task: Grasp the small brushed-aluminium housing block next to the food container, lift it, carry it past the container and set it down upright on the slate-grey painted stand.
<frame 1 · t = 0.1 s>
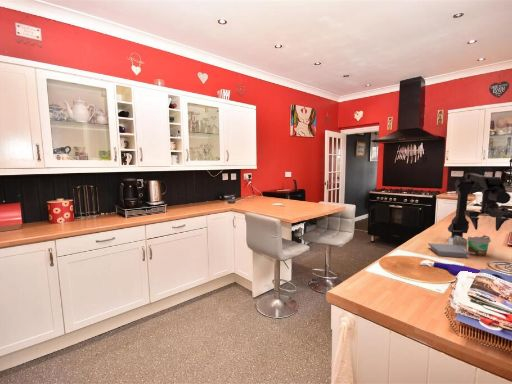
hand: (486, 230, 134), 15 cm above the countertop, fingers open, 9 cm apart
food container: (480, 255, 138), on the countertop
housing: (457, 247, 150), on the countertop
stand: (447, 253, 141), on the countertop
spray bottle: (452, 272, 117), on the countertop
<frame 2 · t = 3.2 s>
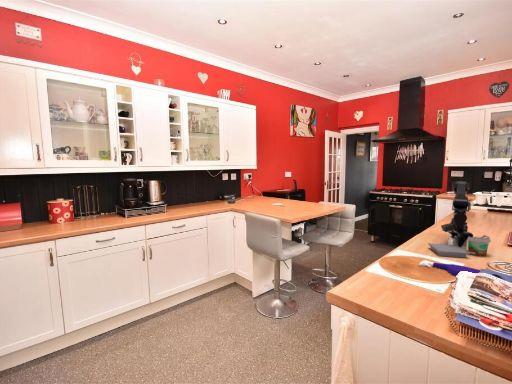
hand: (457, 245, 150), 1 cm above the countertop, fingers closed on housing, 5 cm apart
housing: (457, 247, 150), on the countertop, touching gripper
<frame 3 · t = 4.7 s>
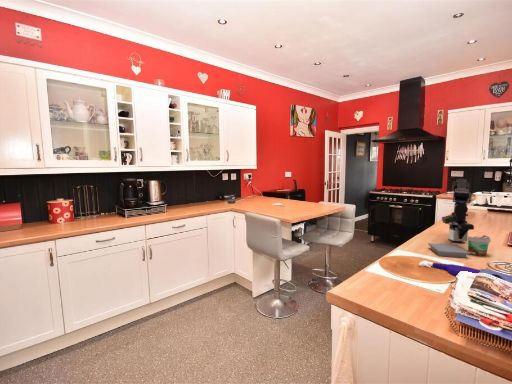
hand: (457, 237, 150), 6 cm above the countertop, fingers closed on housing, 5 cm apart
housing: (457, 239, 150), point 5 cm above the countertop, touching gripper
everything else where it was.
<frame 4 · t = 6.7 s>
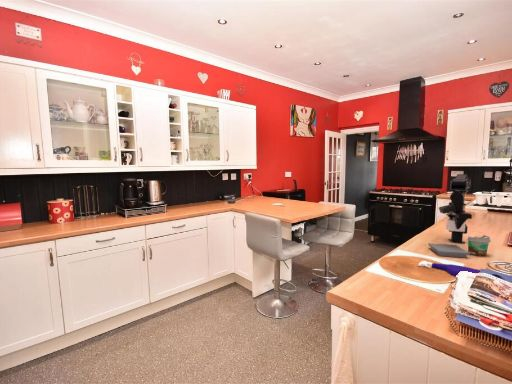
hand: (455, 228, 145), 13 cm above the countertop, fingers closed on housing, 5 cm apart
housing: (455, 230, 145), point 12 cm above the countertop, touching gripper
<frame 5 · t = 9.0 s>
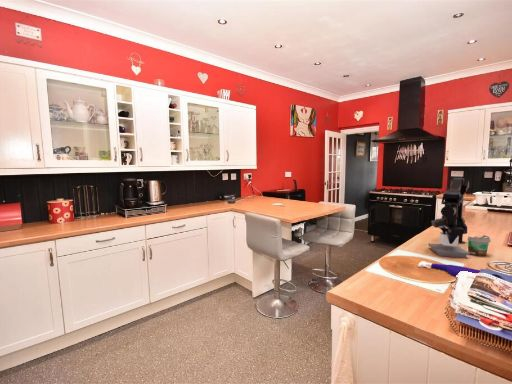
hand: (448, 242, 141), 6 cm above the countertop, fingers closed on housing, 5 cm apart
housing: (448, 244, 141), point 5 cm above the countertop, touching gripper
when the fingers open (6 cm above the countertop, at t = 10.3 s): housing drops 1 cm, resting on stand.
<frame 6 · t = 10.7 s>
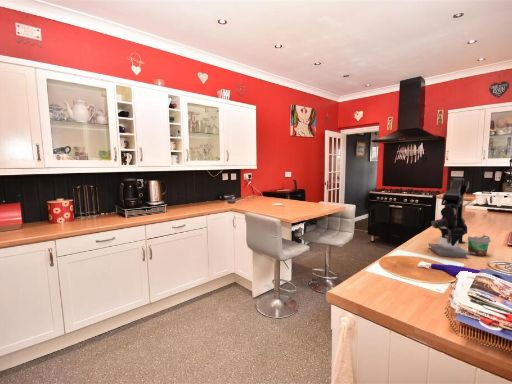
hand: (448, 243, 141), 6 cm above the countertop, fingers open, 9 cm apart
housing: (447, 247, 141), point 3 cm above the countertop, touching stand
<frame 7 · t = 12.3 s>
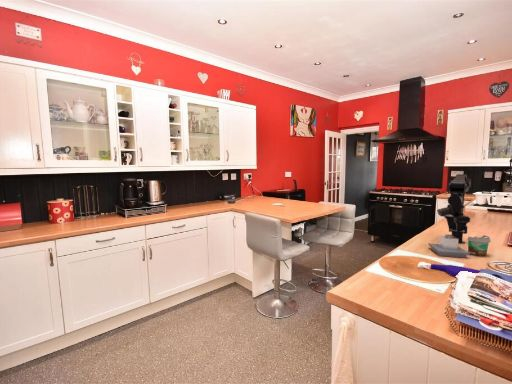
hand: (453, 230, 145), 12 cm above the countertop, fingers open, 9 cm apart
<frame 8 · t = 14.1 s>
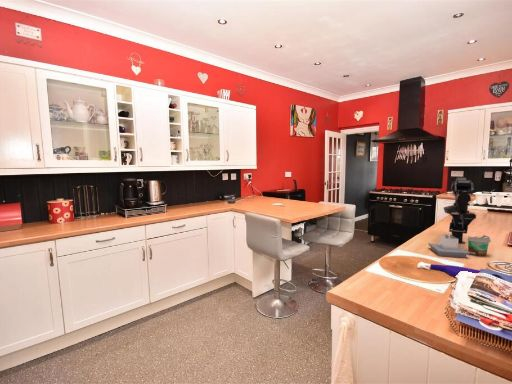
hand: (459, 227, 150), 12 cm above the countertop, fingers open, 9 cm apart
at the end: housing inside the target area on the stand (0.0 cm from its centre), point 3.0 cm above the stand's base; housing tilted 0°; the gripper is holding nothing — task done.
